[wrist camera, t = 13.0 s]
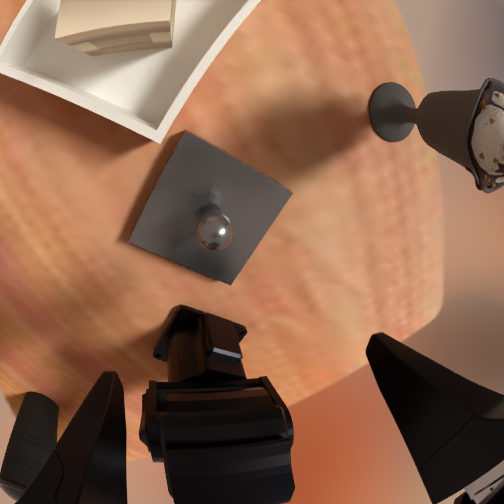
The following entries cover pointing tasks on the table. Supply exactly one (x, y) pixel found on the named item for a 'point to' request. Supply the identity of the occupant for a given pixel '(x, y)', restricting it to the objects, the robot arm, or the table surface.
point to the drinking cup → (29, 443)
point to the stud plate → (208, 210)
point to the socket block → (116, 25)
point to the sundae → (449, 125)
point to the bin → (122, 63)
